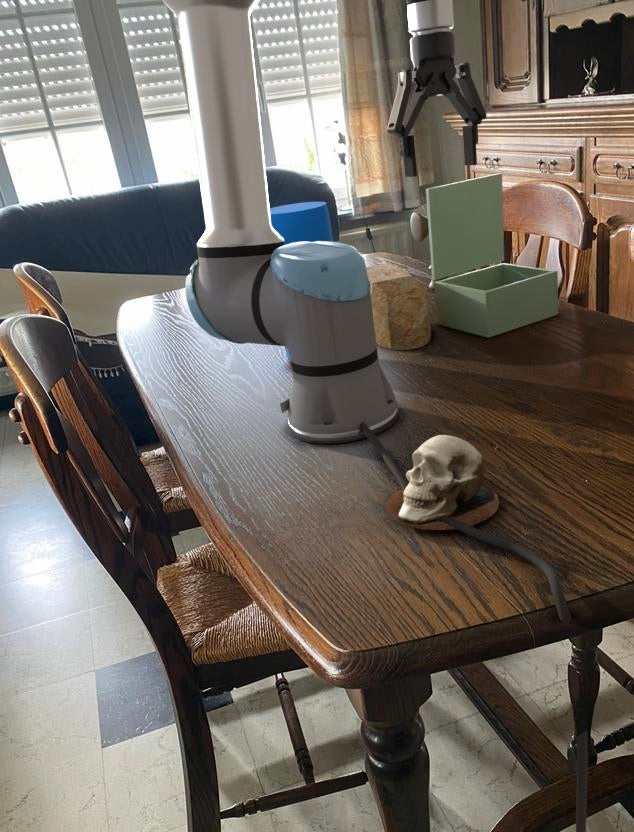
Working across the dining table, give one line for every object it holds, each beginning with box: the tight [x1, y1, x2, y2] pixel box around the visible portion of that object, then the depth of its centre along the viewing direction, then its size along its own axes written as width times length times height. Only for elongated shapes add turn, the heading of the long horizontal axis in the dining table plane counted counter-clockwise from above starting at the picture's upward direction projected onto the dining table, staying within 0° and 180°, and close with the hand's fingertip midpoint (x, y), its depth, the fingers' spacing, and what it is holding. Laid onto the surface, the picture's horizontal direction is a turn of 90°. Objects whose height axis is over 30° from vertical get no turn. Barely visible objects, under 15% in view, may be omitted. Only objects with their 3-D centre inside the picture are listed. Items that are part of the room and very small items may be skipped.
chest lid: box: [425, 172, 505, 280], centre depth 138 cm, size 15×17×6 cm
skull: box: [384, 434, 500, 531], centre depth 79 cm, size 12×10×10 cm
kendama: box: [410, 211, 449, 291], centre depth 159 cm, size 6×10×20 cm, turn 113°
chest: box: [434, 262, 559, 339], centre depth 136 cm, size 15×17×8 cm
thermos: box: [269, 201, 334, 370], centre depth 123 cm, size 11×11×25 cm
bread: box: [366, 262, 432, 351], centre depth 142 cm, size 36×11×10 cm, turn 16°
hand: (441, 170), depth 136 cm, fingers open, 13 cm apart
